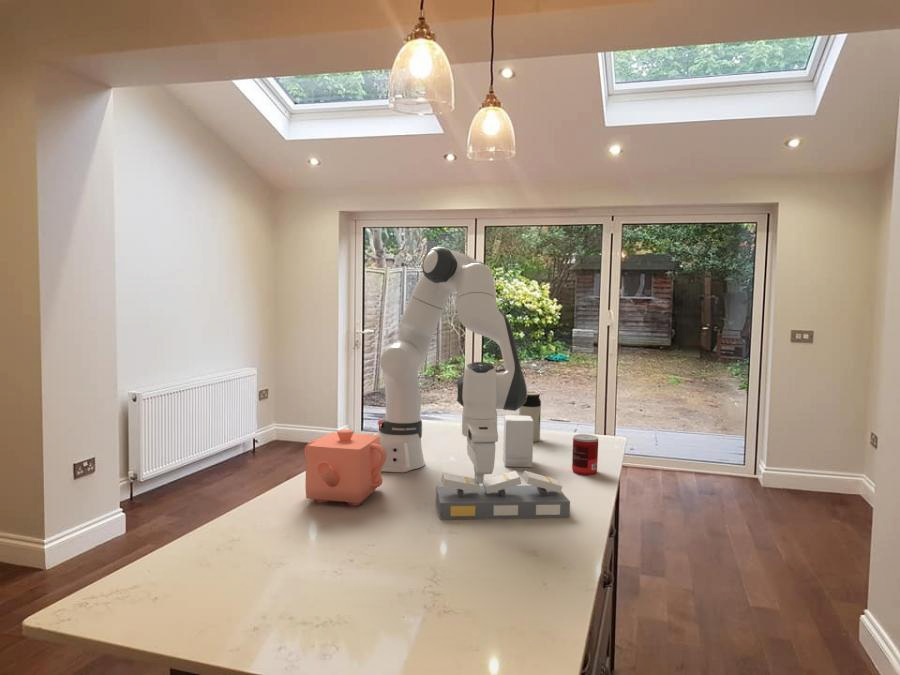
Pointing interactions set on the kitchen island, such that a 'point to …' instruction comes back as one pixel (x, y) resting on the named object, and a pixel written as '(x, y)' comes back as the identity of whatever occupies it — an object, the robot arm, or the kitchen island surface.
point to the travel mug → (533, 411)
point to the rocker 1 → (460, 482)
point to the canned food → (585, 454)
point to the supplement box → (518, 441)
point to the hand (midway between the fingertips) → (479, 481)
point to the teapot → (343, 467)
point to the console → (501, 503)
